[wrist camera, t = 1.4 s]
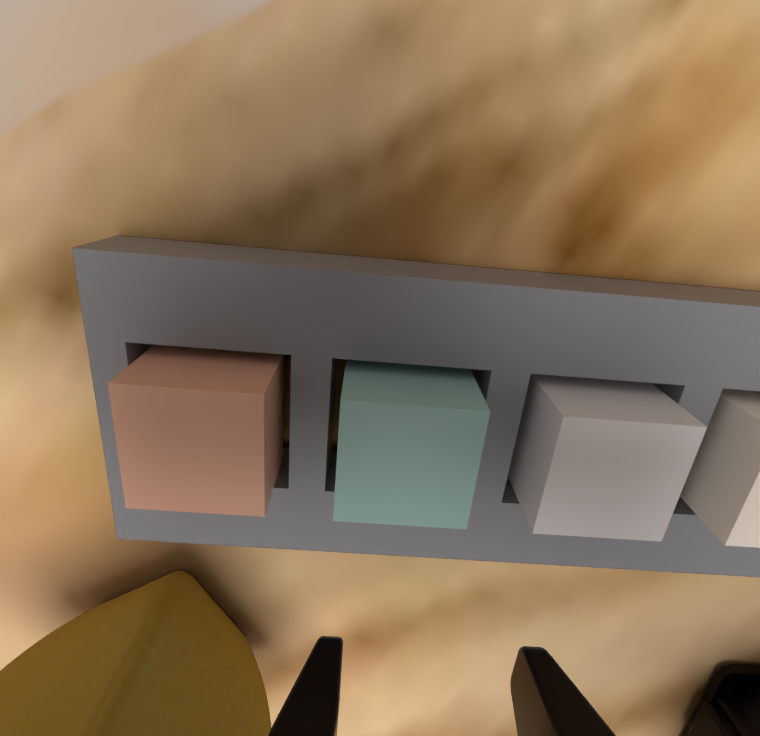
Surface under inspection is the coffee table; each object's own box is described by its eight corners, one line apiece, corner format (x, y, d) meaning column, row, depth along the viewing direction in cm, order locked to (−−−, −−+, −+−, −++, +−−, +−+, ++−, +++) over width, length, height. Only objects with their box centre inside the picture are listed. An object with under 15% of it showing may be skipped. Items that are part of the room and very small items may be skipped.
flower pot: (199, 515, 20) (71, 771, 11) (307, 647, 23) (270, 925, 14) (32, 590, 21) (-189, 866, 13) (155, 705, 24) (41, 987, 16)
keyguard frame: (869, 300, 16) (950, 323, 14) (754, 532, 20) (804, 579, 18) (117, 235, 15) (72, 248, 13) (148, 493, 19) (117, 539, 17)
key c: (469, 367, 16) (490, 411, 13) (451, 470, 17) (466, 529, 14) (346, 358, 15) (340, 400, 13) (339, 463, 17) (332, 521, 14)
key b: (649, 381, 16) (707, 427, 13) (616, 481, 17) (661, 541, 15) (530, 372, 16) (563, 416, 13) (507, 474, 17) (532, 533, 15)
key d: (283, 353, 15) (263, 394, 13) (282, 459, 17) (264, 517, 14) (155, 343, 15) (107, 382, 12) (166, 451, 17) (125, 508, 14)
